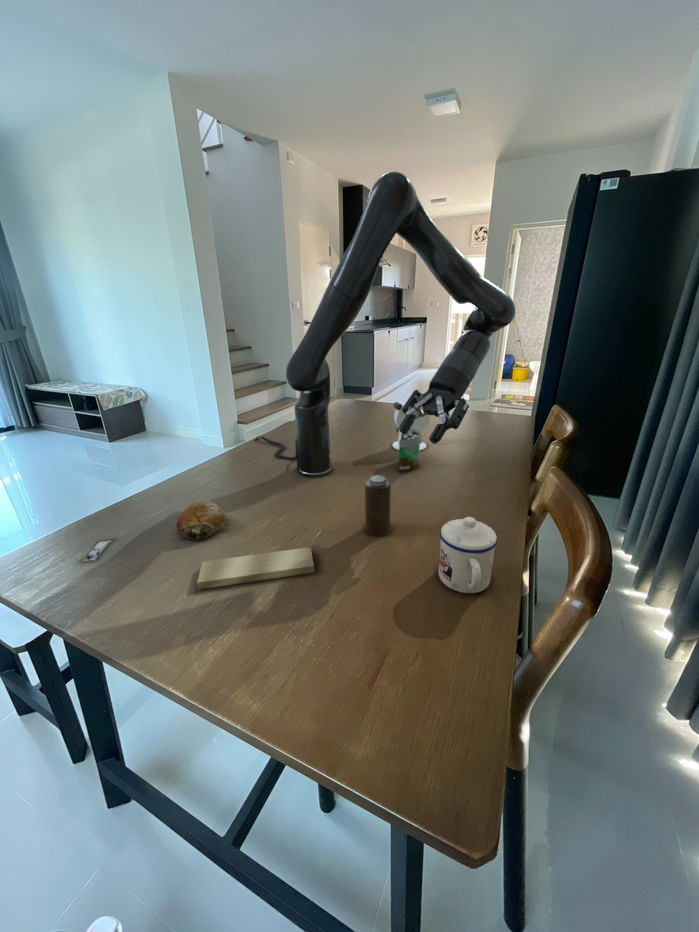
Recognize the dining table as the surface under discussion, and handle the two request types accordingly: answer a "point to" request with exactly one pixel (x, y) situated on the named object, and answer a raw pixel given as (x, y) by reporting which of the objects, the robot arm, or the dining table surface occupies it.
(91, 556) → the granola bar
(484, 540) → the teacup with lid
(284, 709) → the dining table surface
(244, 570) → the serving board
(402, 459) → the food container
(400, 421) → the panda figurine
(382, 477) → the pepper mill
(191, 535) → the bread roll
